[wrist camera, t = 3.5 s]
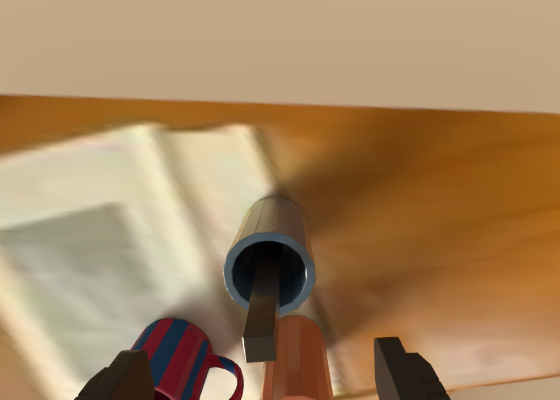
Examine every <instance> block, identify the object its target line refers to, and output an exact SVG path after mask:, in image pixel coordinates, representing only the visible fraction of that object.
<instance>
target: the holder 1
mask: <svg viewBox="0 0 560 400" xmlns="http://www.w3.org/2000/svg"><path fill="white" fill-rule="evenodd" d="M271 240H273V241H276V242H280V243H283V253H282V272H281V291H280V310H279V315H283V314H285V313H288V312H290V311H292V310H294V309H297V308H298V307H299V306H300V305H301V304H302V303H303V302H304V301H305V300H306V299H307V298H308V297H309V295H310V294H311V291H312V288H313V286H314V283H315V265H314V259H313V253H312V248H311V242H310V236H309V230H308V224H307V220H306V217H305V215H304V213H303V211H302V210H301V208H300V207H299V206H298V205H297V204H296V203H294V202H293V201H291V200H289V199H287V198H283V197H277V196H273V197H267V198H264V199H261V200H259V201H258V202H256V203H255V204H254V205H253V206H252V207H251V208H250V209H249V210H248V212H247V213H246V215H245V217H244V219H243V222H242V224H241V226H240V228H239V230H238V232H237V235H236V237H235V239H234V241H233V243H232V245H231V247H230V250H229V252H228V254H227V257H226V260H225V264H224V267H223V276H224V282H225V286H226V289H227V290H228V292H229V294H230V295H231V297H232V298H233V300H235V302H236V303H238V304H239V305H240V306H242V307H243V308H244V309H246V310H247V311H248V307H249V302H250V297H251V293H252V288H253V284H254V279H255V275H256V270H257V266H258V261H259V257H260V252H261V247H262V243H263V241H271Z"/></svg>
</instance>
